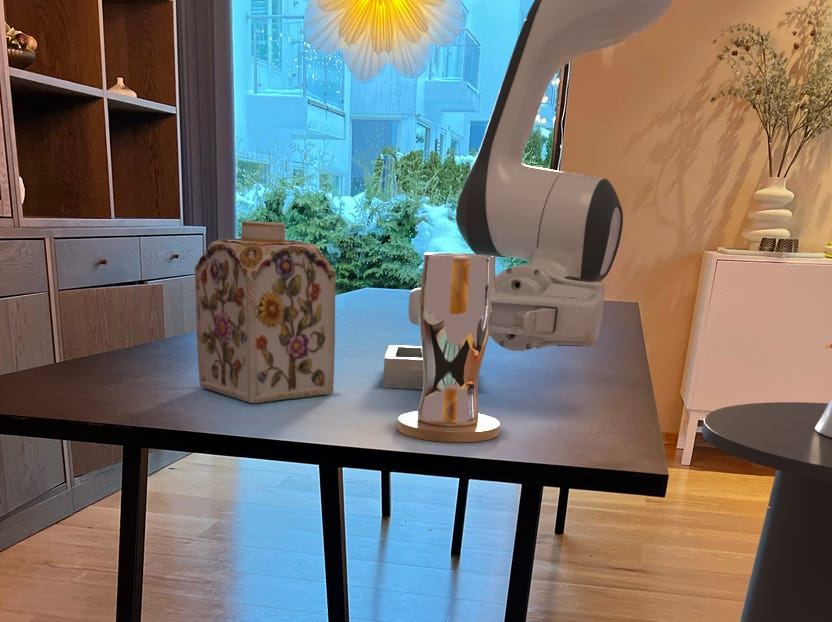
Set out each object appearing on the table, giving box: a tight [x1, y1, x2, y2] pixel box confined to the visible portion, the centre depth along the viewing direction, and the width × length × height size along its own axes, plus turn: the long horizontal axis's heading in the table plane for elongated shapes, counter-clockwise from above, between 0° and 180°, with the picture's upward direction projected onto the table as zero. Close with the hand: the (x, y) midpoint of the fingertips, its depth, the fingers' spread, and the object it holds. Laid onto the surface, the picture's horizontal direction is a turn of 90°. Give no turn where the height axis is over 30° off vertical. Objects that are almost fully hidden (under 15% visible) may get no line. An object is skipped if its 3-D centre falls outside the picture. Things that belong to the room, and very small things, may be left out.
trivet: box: [397, 410, 501, 443], centre depth 88 cm, size 10×10×1 cm
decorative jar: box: [194, 220, 337, 405], centre depth 100 cm, size 12×12×18 cm
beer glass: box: [417, 252, 497, 427], centre depth 85 cm, size 7×7×15 cm
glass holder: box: [382, 344, 423, 390], centre depth 113 cm, size 11×11×4 cm
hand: (475, 318), depth 88 cm, fingers open, 8 cm apart
